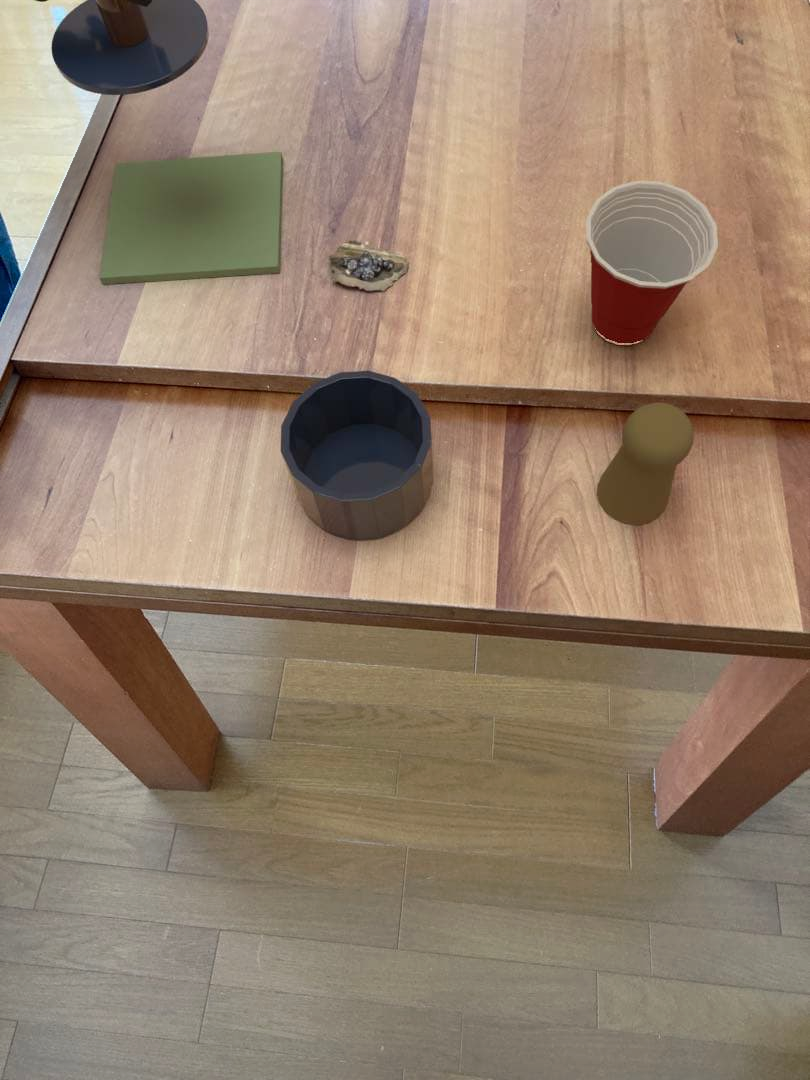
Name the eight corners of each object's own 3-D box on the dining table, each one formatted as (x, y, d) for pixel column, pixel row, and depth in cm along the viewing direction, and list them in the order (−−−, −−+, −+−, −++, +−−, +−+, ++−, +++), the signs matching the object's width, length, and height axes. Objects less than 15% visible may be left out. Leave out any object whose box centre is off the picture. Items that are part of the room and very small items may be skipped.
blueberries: (326, 246, 83) (324, 232, 82) (404, 237, 83) (403, 222, 82) (332, 298, 80) (329, 285, 79) (413, 288, 80) (412, 274, 79)
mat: (102, 284, 83) (98, 277, 82) (118, 170, 89) (115, 162, 88) (279, 273, 82) (277, 266, 81) (283, 159, 89) (281, 151, 88)
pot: (295, 544, 70) (279, 504, 63) (297, 424, 75) (282, 375, 68) (436, 536, 69) (435, 495, 62) (428, 416, 74) (426, 366, 67)
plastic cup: (609, 389, 75) (637, 300, 64) (544, 308, 79) (559, 212, 68) (706, 339, 76) (749, 244, 65) (637, 263, 80) (667, 161, 70)
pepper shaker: (649, 454, 72) (682, 380, 62) (680, 512, 69) (719, 445, 59) (585, 474, 71) (608, 403, 61) (614, 534, 69) (642, 469, 59)
